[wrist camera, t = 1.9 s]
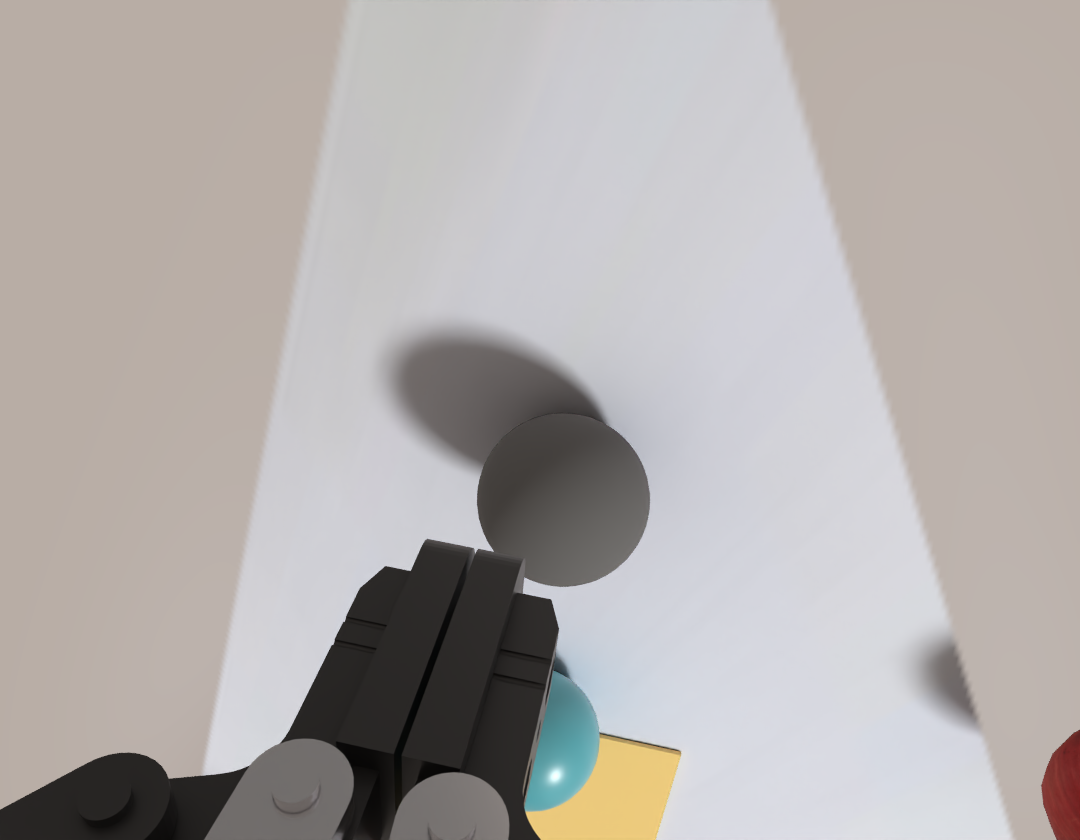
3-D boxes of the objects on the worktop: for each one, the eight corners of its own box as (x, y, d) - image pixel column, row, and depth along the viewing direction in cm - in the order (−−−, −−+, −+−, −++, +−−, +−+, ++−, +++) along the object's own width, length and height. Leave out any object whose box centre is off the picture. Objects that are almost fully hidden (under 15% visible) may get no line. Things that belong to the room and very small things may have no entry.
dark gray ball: (627, 528, 35) (608, 645, 30) (484, 480, 35) (441, 589, 30) (680, 412, 31) (667, 523, 26) (519, 359, 31) (478, 460, 26)
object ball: (587, 737, 43) (566, 855, 38) (471, 699, 43) (436, 812, 38) (624, 664, 39) (607, 784, 34) (498, 622, 39) (463, 736, 34)
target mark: (638, 893, 50) (637, 897, 50) (404, 838, 52) (403, 841, 52) (681, 751, 42) (680, 755, 42) (401, 690, 43) (400, 693, 43)
